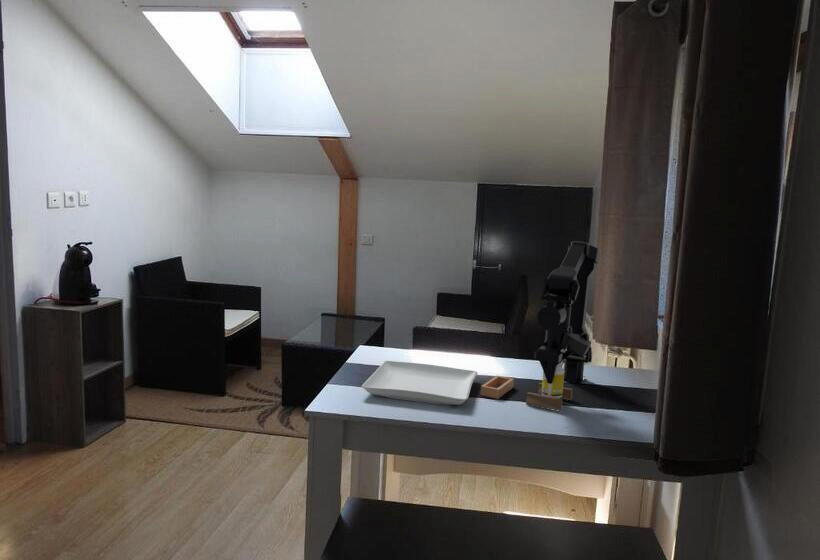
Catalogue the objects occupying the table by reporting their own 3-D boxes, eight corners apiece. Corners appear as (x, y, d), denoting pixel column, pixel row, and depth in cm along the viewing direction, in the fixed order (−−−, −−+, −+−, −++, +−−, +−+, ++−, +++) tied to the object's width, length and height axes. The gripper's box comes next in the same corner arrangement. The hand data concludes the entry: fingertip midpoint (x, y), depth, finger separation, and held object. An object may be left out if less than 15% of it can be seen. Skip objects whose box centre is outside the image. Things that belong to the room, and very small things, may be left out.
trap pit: (496, 384, 183) (496, 375, 182) (513, 387, 180) (513, 378, 180) (480, 395, 172) (481, 386, 172) (498, 398, 170) (498, 389, 169)
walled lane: (538, 393, 177) (539, 382, 176) (571, 399, 173) (572, 389, 172) (525, 404, 167) (526, 393, 166) (560, 411, 163) (561, 400, 162)
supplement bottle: (564, 395, 170) (568, 359, 169) (558, 400, 166) (562, 363, 164) (545, 390, 173) (548, 355, 171) (538, 396, 168) (541, 359, 167)
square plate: (466, 413, 159) (467, 398, 158) (359, 399, 164) (360, 385, 164) (477, 381, 185) (478, 368, 185) (384, 371, 190) (385, 358, 190)
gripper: (581, 333, 154) (575, 396, 157) (597, 321, 171) (591, 377, 173) (536, 326, 159) (530, 387, 162) (556, 315, 176) (550, 370, 178)
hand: (552, 380), depth 169 cm, fingers closed on supplement bottle, 5 cm apart
